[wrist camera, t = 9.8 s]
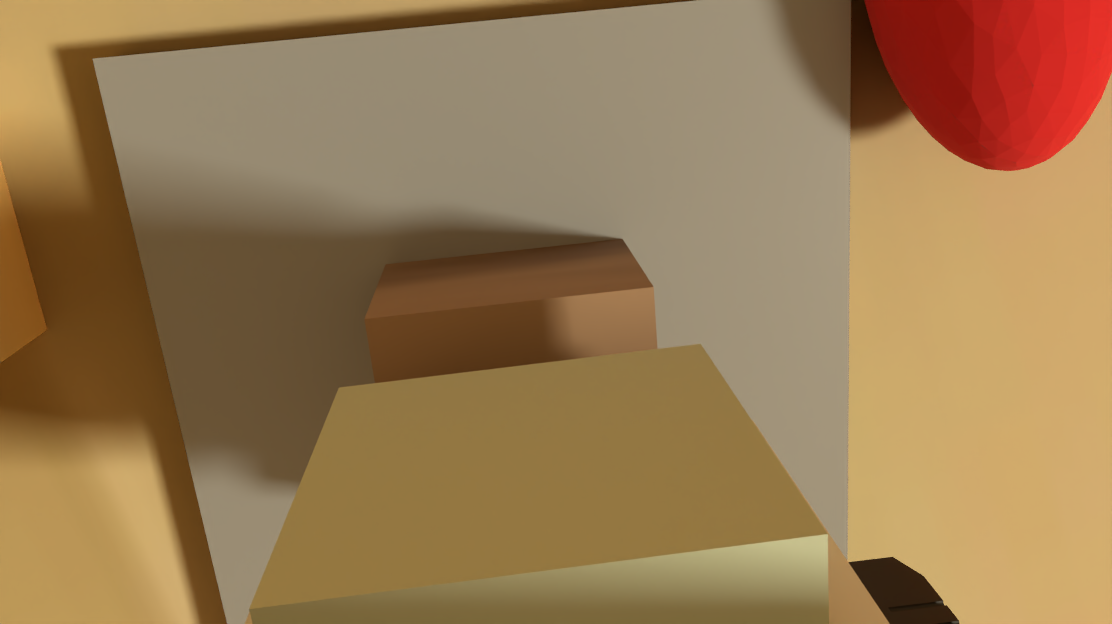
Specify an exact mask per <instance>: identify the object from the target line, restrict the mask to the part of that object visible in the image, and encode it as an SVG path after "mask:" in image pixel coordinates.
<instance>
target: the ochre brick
mask: <svg viewBox="0 0 1112 624" xmlns="http://www.w3.org/2000/svg"><path fill="white" fill-rule="evenodd" d="M46 330H47V328H46V324H45V320H44V317H43V313H42V309H41V306H40V302H39V298H38V295H37V291H36V288H35V284H34V280H33V277H32V273H31V269H30V266H29V262H28V258H27V255H26V251H25V248H24V244H23V240H22V237H21V233H20V229H19V226H18V222H17V218H16V215H15V211H14V208H13V204H12V200H11V197H10V193H9V189H8V186H7V182H6V178H5V175H4V171H3V167H2V164H1V160H0V363H1V362H3V361H4V360H5V359H7V358H8V357H10V356H11V355H12V354H14V353H15V352H17V351H18V350H19V349H21V348H22V347H24V346H25V345H26V344H28V343H29V342H31V341H32V340H33V339H35V338H36V337H38V336H39V335H40V334H42V333H43V332H45V331H46Z"/></svg>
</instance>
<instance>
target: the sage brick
mask: <svg viewBox="0 0 1112 624" xmlns="http://www.w3.org/2000/svg"><path fill="white" fill-rule="evenodd" d="M249 611H250V615H251V620H252V624H829V590H828V534H827V532H826V531H825V529H824V528H823V526H822V525H821V523H820V522H819V520H818V519H817V517H816V516H815V514H814V513H813V511H812V510H811V508H810V507H809V505H808V504H807V502H806V501H805V499H804V498H803V496H802V495H801V493H800V492H799V490H798V489H797V487H796V486H795V484H794V483H793V481H792V480H791V478H790V477H789V475H788V474H787V472H786V471H785V469H784V468H783V466H782V465H781V463H780V462H779V460H778V459H777V457H776V456H775V454H774V453H773V451H772V450H771V448H770V447H769V445H768V444H767V442H766V441H765V439H764V438H763V436H762V435H761V433H760V432H759V430H758V429H757V427H756V426H755V424H754V423H753V421H752V420H751V418H750V417H749V415H748V414H747V412H746V411H745V409H744V408H743V406H742V405H741V403H740V402H739V400H738V399H737V397H736V396H735V394H734V393H733V391H732V390H731V388H730V387H729V385H728V384H727V382H726V381H725V379H724V378H723V376H722V375H721V373H720V372H719V370H718V369H717V367H716V366H715V364H714V363H713V361H712V360H711V358H710V357H709V355H708V354H707V352H706V351H705V349H704V348H703V346H702V345H701V344H694V345H686V346H678V347H670V348H661V349H653V350H645V351H637V352H628V353H620V354H612V355H604V356H595V357H587V358H579V359H571V360H562V361H554V362H546V363H538V364H529V365H521V366H513V367H505V368H496V369H488V370H480V371H472V372H463V373H455V374H447V375H439V376H430V377H422V378H414V379H406V380H398V381H389V382H381V383H373V384H365V385H356V386H348V387H340V388H339V389H338V391H337V394H336V396H335V399H334V401H333V403H332V406H331V408H330V411H329V413H328V416H327V418H326V421H325V423H324V426H323V428H322V431H321V433H320V435H319V438H318V440H317V443H316V445H315V448H314V450H313V453H312V455H311V458H310V460H309V463H308V465H307V468H306V470H305V472H304V475H303V477H302V480H301V482H300V485H299V487H298V490H297V492H296V495H295V497H294V500H293V502H292V504H291V507H290V509H289V512H288V514H287V517H286V519H285V522H284V524H283V527H282V529H281V532H280V534H279V537H278V539H277V541H276V544H275V546H274V549H273V551H272V554H271V556H270V559H269V561H268V564H267V566H266V569H265V571H264V573H263V576H262V578H261V581H260V583H259V586H258V588H257V591H256V593H255V596H254V598H253V601H252V603H251V606H250V608H249Z"/></svg>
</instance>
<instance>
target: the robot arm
mask: <svg viewBox="0 0 1112 624" xmlns="http://www.w3.org/2000/svg"><path fill="white" fill-rule="evenodd" d="M752 421H753V420H752ZM753 423H754V421H753ZM754 424H755V423H754ZM755 426H756V424H755ZM756 427H757V426H756ZM757 429H758V427H757ZM758 430H759V429H758ZM759 432H760V430H759ZM760 433H761V432H760ZM761 435H762V433H761ZM762 436H763V435H762ZM763 438H764V436H763ZM764 439H765V438H764ZM765 441H766V442H767V440H766V439H765ZM767 444H768V445H769V443H768V442H767ZM769 447H770V448H771V446H770V445H769ZM771 450H772V451H773V449H772V448H771ZM773 453H774V454H775V452H774V451H773ZM775 456H776V457H777V455H776V454H775ZM777 459H778V460H779V458H778V457H777ZM779 462H780V463H781V461H780V460H779ZM781 465H782V466H783V464H782V463H781ZM783 468H784V469H785V467H784V466H783ZM785 471H786V472H787V470H786V469H785ZM787 474H788V475H789V473H788V472H787ZM789 477H790V478H791V476H790V475H789ZM791 480H792V481H793V479H792V478H791ZM793 483H794V484H795V482H794V481H793ZM795 486H796V487H797V485H796V484H795ZM797 489H798V490H799V488H798V487H797ZM799 492H800V493H801V491H800V490H799ZM801 495H802V496H803V494H802V493H801ZM803 498H804V499H805V497H804V496H803ZM805 501H806V502H807V500H806V499H805ZM807 504H808V505H809V507H810V508H811V510H812V511H813V513H814V514H815V516H816V517H817V519H818V520H819V522H820V523H821V525H822V526H823V528H824V529H825V531H826V532H827V534H828V590H829V624H959V620H958V619H957V618H956V616H955V615H954V614H953V613H952V611H951V610H950V609H949V608H948V606H947V605H946V606H944V604H943V600H942V599H941V598H940V596H939V595H938V594H937V592H936V591H935V590H934V589H933V587H932V586H931V585H930V584H929V582H928V581H927V580H926V579H925V577H924V576H922V575H921V574H919V573H918V572H916V571H914V570H913V569H911V568H910V567H908V566H906V565H905V564H903V563H901V562H900V561H898V560H897V559H895V558H893V557H888V558H880V559H872V560H864V561H855V562H848V561H847V560H846V558H845V557H844V555H843V554H842V552H841V551H840V549H839V548H838V546H837V545H836V543H835V542H834V540H833V539H832V537H831V536H830V534H829V533H828V531H827V530H826V528H825V527H824V525H823V524H822V522H821V521H820V519H819V518H818V516H817V515H816V513H815V512H814V510H813V509H812V507H811V506H810V504H809V503H808V502H807ZM245 624H252V620H251V615H250V612H249V614H248V617H247V619H246V622H245Z"/></svg>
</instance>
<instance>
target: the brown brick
mask: <svg viewBox="0 0 1112 624" xmlns="http://www.w3.org/2000/svg"><path fill="white" fill-rule="evenodd" d="M364 320H365V326H366V332H367V338H368V344H369V350H370V356H371V363H372V369H373V375H374V381H375V383H381V382H389V381H398V380H406V379H414V378H422V377H430V376H439V375H447V374H455V373H463V372H472V371H480V370H488V369H496V368H505V367H513V366H521V365H529V364H538V363H546V362H554V361H562V360H571V359H579V358H587V357H595V356H604V355H612V354H620V353H628V352H637V351H645V350H653V349H657V332H656V316H655V300H654V287H653V285H652V284H651V282H650V280H649V279H648V277H647V276H646V274H645V273H644V271H643V270H642V268H641V267H640V265H639V263H638V262H637V260H636V259H635V257H634V256H633V254H632V253H631V251H630V250H629V248H628V246H627V245H626V243H625V242H624V240H623V239H615V240H606V241H597V242H588V243H578V244H569V245H560V246H551V247H541V248H532V249H523V250H514V251H504V252H495V253H486V254H477V255H467V256H458V257H449V258H440V259H430V260H421V261H412V262H403V263H393V264H386V265H385V267H384V270H383V272H382V275H381V278H380V280H379V283H378V285H377V288H376V290H375V293H374V296H373V298H372V301H371V303H370V306H369V308H368V311H367V314H366V316H365V319H364Z"/></svg>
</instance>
